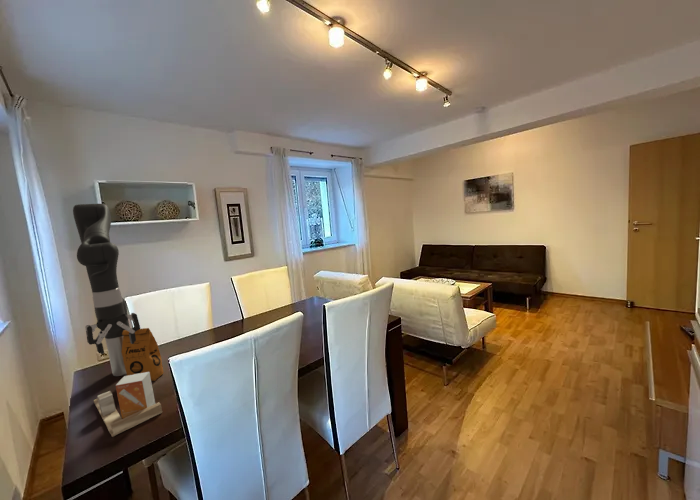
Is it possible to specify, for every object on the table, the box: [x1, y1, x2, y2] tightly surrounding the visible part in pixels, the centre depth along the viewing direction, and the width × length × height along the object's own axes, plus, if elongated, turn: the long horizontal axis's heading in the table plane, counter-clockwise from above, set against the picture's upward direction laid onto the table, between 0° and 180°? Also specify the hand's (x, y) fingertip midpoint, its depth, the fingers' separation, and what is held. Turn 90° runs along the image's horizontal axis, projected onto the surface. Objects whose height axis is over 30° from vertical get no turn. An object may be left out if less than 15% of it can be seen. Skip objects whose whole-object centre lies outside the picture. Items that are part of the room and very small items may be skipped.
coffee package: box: [121, 327, 165, 382], centre depth 129 cm, size 10×12×22 cm
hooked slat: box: [93, 390, 163, 438], centre depth 110 cm, size 30×14×7 cm, turn 48°
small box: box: [115, 372, 156, 419], centre depth 106 cm, size 8×6×13 cm
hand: (117, 348), depth 105 cm, fingers open, 8 cm apart
